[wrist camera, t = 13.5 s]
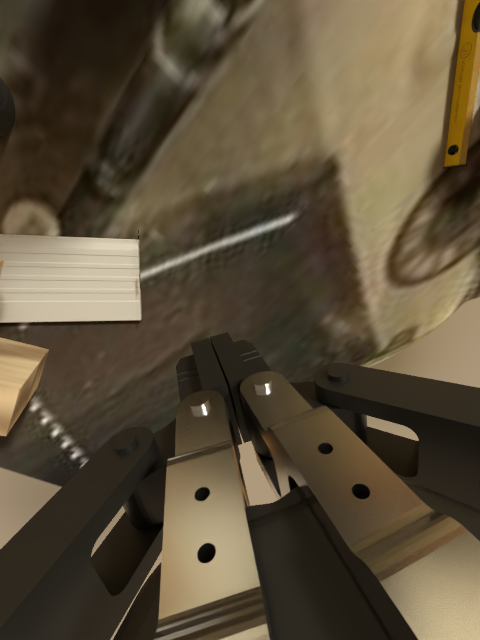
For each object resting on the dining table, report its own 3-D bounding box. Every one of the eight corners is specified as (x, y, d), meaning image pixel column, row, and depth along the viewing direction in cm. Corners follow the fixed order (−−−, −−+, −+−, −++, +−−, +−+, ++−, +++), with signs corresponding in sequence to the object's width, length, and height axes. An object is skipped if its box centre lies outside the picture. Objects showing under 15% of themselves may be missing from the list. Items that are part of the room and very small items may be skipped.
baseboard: (-176, 210, 32) (-138, 320, 36) (-206, 211, 30) (-161, 329, 34) (139, 227, 40) (142, 316, 44) (138, 228, 38) (141, 323, 41)
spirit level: (449, 168, 48) (466, 165, 45) (441, 168, 47) (459, 166, 45) (491, -160, 36) (519, -190, 33) (481, -161, 35) (508, -192, 33)
